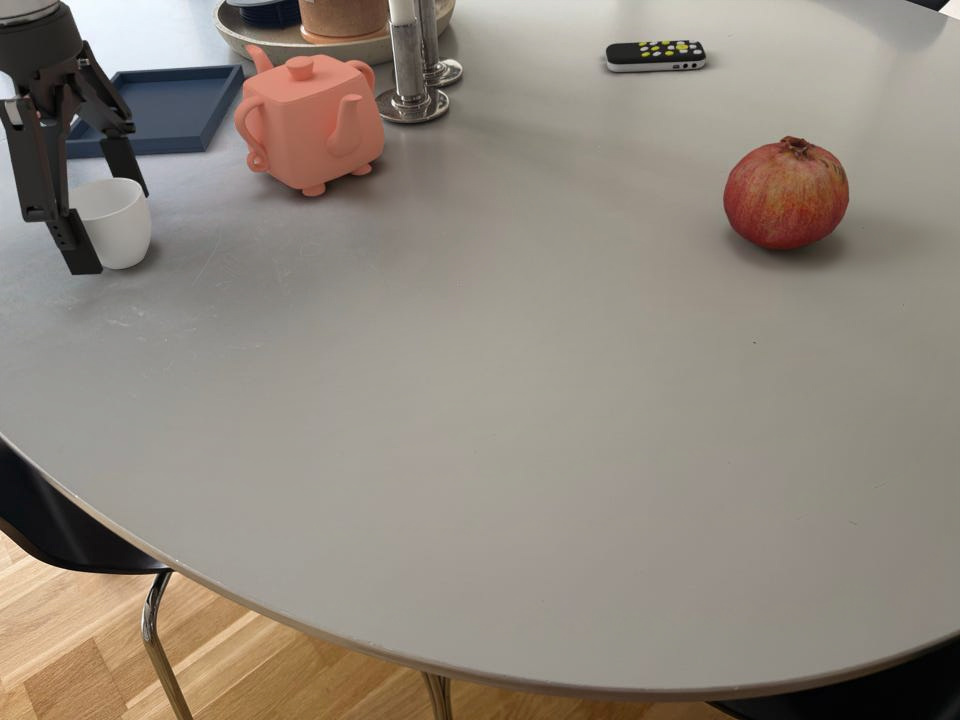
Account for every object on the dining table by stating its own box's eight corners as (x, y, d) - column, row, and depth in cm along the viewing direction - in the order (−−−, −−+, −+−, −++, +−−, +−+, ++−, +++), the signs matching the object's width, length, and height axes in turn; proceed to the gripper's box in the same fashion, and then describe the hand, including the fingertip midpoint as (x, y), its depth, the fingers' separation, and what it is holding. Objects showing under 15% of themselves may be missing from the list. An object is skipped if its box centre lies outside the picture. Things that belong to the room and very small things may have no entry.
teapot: (378, 206, 86) (359, 89, 77) (228, 204, 88) (193, 91, 79) (404, 139, 97) (390, 31, 88) (270, 139, 99) (244, 34, 90)
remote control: (604, 55, 112) (605, 41, 110) (699, 51, 111) (700, 36, 109) (607, 74, 107) (608, 59, 106) (706, 70, 106) (708, 54, 105)
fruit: (840, 220, 78) (867, 122, 72) (832, 279, 71) (860, 177, 65) (727, 204, 82) (742, 109, 75) (708, 258, 75) (723, 160, 68)
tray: (204, 151, 98) (199, 135, 96) (61, 158, 99) (54, 143, 97) (245, 78, 114) (241, 64, 112) (122, 85, 115) (116, 71, 113)
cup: (96, 290, 77) (67, 229, 73) (70, 245, 84) (42, 186, 79) (175, 260, 80) (152, 200, 76) (144, 218, 87) (121, 160, 82)
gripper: (-7, 67, 57) (105, 308, 71) (116, -39, 75) (186, 168, 89) (-111, 74, 57) (22, 312, 71) (37, -34, 76) (119, 172, 90)
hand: (113, 232), depth 80 cm, fingers open, 13 cm apart
